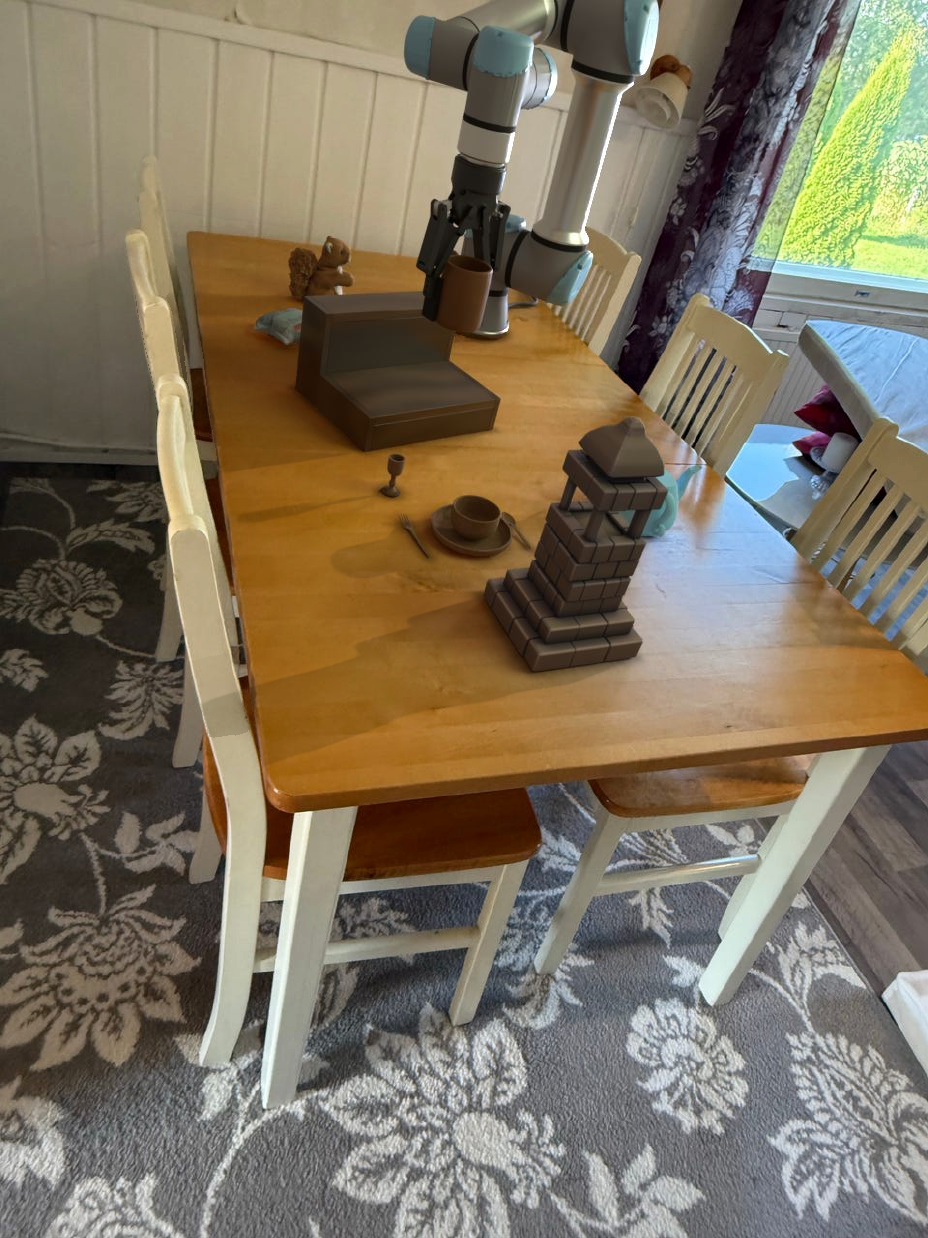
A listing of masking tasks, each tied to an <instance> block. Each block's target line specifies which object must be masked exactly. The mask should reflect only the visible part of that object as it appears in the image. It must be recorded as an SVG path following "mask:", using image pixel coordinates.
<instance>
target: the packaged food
mask: <svg viewBox="0 0 928 1238" xmlns="http://www.w3.org/2000/svg"><path fill="white" fill-rule="evenodd" d="M302 312H303V309H300V308H299V309H298V308H296V307H290V308H286V309H282V310H276V311H271V312H267V313H265V314H262V315H260V316H259V317H258V318H257V320H256V322H255V325H254V330H255V331H256V332H259V331H261V332H263V333H264V334H266V335H267V336H269V337H270V338H272V339H274V340H277V341H279V342H281V343H282V344H284V345H285V346H287V345H289V346H292V345H295V344H297V343H299V342H300V332H301V322H302Z"/></svg>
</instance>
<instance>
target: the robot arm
mask: <svg viewBox="0 0 928 1238" xmlns="http://www.w3.org/2000/svg"><path fill="white" fill-rule="evenodd" d="M659 15H660V13H659V3H658V0H490V1H488V2H485V3H483V4H481V5H479V6H476V7H474V8H471V9H469V10H467V11H464V12H462V13H460V14H458V15H456V16H453V17H452V18H448V19H446V20H443V19H439V18H437V17H436V16H428V15H425V14H419V15H417V16H415V17H414V18H413V19H412V21H411V22H410V24H409V26H408V28H407V30H406V34H405V38H404V46H403V60H404V64H405V67H406V69H407V70H408V71H409V73H411V74H414V75H416V76H418V77H420V78H421V77H422V78H424V79H425V80H426V81H431V82H435V83H437V84H440V85H444V86H446V87H447V86H448V87H450V88H453V89H456V90H461V91H463V92H466V99H465V105H464V109H463V113H462V114H463V115H462V119H461V124H460V129H459V135H458V141H457V145H456V149H457V151H458V152H459V153H457V154H456V155H455V156H454V160H453V165H452V171H451V175H450V176H451V177H450V181H451V186H452V187H451V191H450V193H449V195H448V197H447V199H443V200H438V199H436V198H433V199H432V200H430V210H429V211H430V213H429V214H430V215H429V219H428V223H427V226H426V229H425V233H424V236H423V238H422V243H421V246H420V250H419V253H418V256H417V260H416V263H415V268H416V269H418V270H419V271H420V272H422V273H424V274H425V278H424V283H423V289H422V291H423V295H424V296H425V298H424V304H423V309H422V314H421V315H423V316H424V317H426V318H427V319H429V320H430V321H431V322H434V321H436V316H437V311H438V306H439V301H440V296H441V291H442V286H443V281H444V279H443V278H441V274H442V271H443V269H444V267H445V265H446V263H447V261H448V259H449V257H450V255H451V253H452V251H453V250H455V248H456V245H457V243H458V241H459V240H460V238H461V237H463V241H462V246H461V250H460V255H465V256H470V257H474V258H477V259H480V260H482V261H484V262H486V263H488V264H489V265H490V266H491V267H492V269H493V272H492V278H491V284H490V289H489V293H488V297H487V302H486V306H485V310H484V314H483V318H482V322H481V326H480V328H479V329H478V330H477V331H475V332H471V333H461V332H456V331H455V333H457V334H460V335H463V336H467V337H468V338H469V337H470V338H474V339H478V340H479V339H480V340H489V341H490V340H491V341H492V340H500V339H502V338H505V337H506V336H507V334H508V331H509V327H510V320H509V308H513V307H534V306H536V305H537V304H538V303H539V300H540V301H542V302H544V303H545V304H552V305H554V306H558V307H567V306H568V305H570V304H571V303H572V302H573V300H574V299H575V298H576V296H577V295H578V294H579V292H580V290H581V288H582V286H583V285H584V283H585V281H586V279H587V276H588V274H589V272H590V270H591V267H592V264H593V259H594V255H593V253H592V252H591V250H587V249H588V244H589V241H590V238H589V236H588V235H587V232H586V231H585V227H586V223H587V220H588V217H589V213H590V209H591V206H592V202H593V198H594V195H595V193H596V192H595V191H596V187H597V184H598V180H599V177H600V175H601V174H600V173H601V170H602V166H603V163H604V159H605V156H606V151H607V148H608V145H609V141H610V137H611V134H612V131H613V127H614V123H615V120H616V116H617V112H618V109H619V105H620V101H621V99H622V95H623V93H625V91H627V90H628V89H630V88H631V87H632V86H634V84H635V79H636V77H639V76H642V75H645V73H646V72H647V70H648V69H649V66H650V63H651V59H652V58H653V55H654V51H655V47H656V42H657V36H658V31H659V30H658V29H659V21H660V20H659V18H660V16H659ZM538 45H541V46H546V47H549V48H553V49H555V50H558V51H560V52H563V53H566V54H570V55H572V61H571V64H570V72H571V73H572V75H573V77H574V80H575V83H574V87H573V92H572V95H571V100H570V104H569V108H568V112H567V116H566V121H565V125H564V128H563V131H562V137H561V141H560V144H559V149H558V152H557V156H556V161H555V165H554V169H553V174H552V177H551V182H550V185H549V189H548V193H547V197H546V202H545V206H544V210H543V213H542V218H541V219H540V220H539V219H538V221H536V222H535V223H533V224H532V227H531V230H528V229H526V226H527V222H526V221H527V220H526V219H525V218H523V217H521V216H519V215H516V214H514V213H513V214H512V213H511V212H512V211H511V210H512V207H511V206H510V205H508V204H506V203H504V202H503V201H501V200H498V196H499V195H500V194H501V193H502V192H503V187H504V182H505V179H506V174H507V168H506V166H505V165H506V164H507V163H509V161H510V156H511V152H512V148H513V142H514V137H515V134H516V129H517V124H518V120H519V115H520V111H521V110H525V111H527V110H534V109H537V108H538V107H540V106H542V105H543V104H545V103H546V102H548V100H550V98H551V97H552V96H553V94H554V92H555V90H556V87H557V83H558V68H557V65H556V62H555V60H554V59H553V56H552V55H551V54H550V53H549V52H548V51H546V50H545V49H543V48H541V47H537V46H538ZM510 289H511V290H514V291H517V292H519V293H522V294H523V295H527V296H530V298H531V299H532V300H533V301H532V302H523V301H516V302H511V303H509V301H508V300H509V299H508V297H509V293H510Z"/></svg>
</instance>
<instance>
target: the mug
mask: <svg viewBox="0 0 928 1238" xmlns="http://www.w3.org/2000/svg"><path fill="white" fill-rule="evenodd" d="M492 272H493V269H492V267H491V266H490V265H489V264H488V263H486V262H484V261H482V260H480V259H477V258H474V257H470V256H465V255H461V254H459V252H458V251H456V250H455V249H454V250H453V251H452V253H451V255H450V257H449V259H448V261H447V263H446V265H445V267H444V269H443V271H442V273H441V275H440V277H441V278H443V279H444V281H443V286H442V291H441V296H440V301H439V306H438V311H437V316H436V322H437V323H438V324H439V325H441V326H442V327H444V328H446V329H449V330H452V331H456V332H455V333H457V332H461V333H471V332H475V331H477V330H478V329H479V328H480V326H481V322H482V318H483V314H484V310H485V306H486V302H487V297H488V293H489V289H490V284H491V278H492Z"/></svg>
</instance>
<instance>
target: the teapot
mask: <svg viewBox="0 0 928 1238" xmlns="http://www.w3.org/2000/svg"><path fill="white" fill-rule="evenodd" d="M702 469H703V466H701V465H692V466H690V467H688V468H687V469H685V470H684V471H683V473H681V474H680V476H679V477H678V478H677V479H676V478H675V477H674V475H672V473H671V472H670V471H668V470H667V469H666V468H665V474H664V476H660V477H656V478H657V479H658V480H659V481H660V482H661V483H662V484H663V485H664V486H665V487H666V488H667V489H668V493H667V496H666V498H665V501H664V503H663V505H662V508H661V509H658V510H652V511H651V513H650V516H649V518H648V520H647V523H646V525H645V528H644V530H643V532H642V535H641V537H642V536H644V537H645V536H648V537H652V538H657V537H658V538H660V537H663V536H664V535H665V534H666V532H667V531H668V530H670V529H671V528H672V527H673V526H674V525H675V522H676V519H677V516H678V513H679V502H680V501H681V500H682V498H683V496H684V495H685V493H686V490H687V488H688V486H689V483H690V481H691V479H692V478H693V477H694V475H695V474H697V473H698V472H700V471H701V470H702ZM635 511H636V510H627V511H619V514H621V515H622V516H623V517H624V518H625V519H626V520H627V521H628V522H629V524H630V523H631V521H632V518H633V516H634V513H635Z"/></svg>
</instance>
